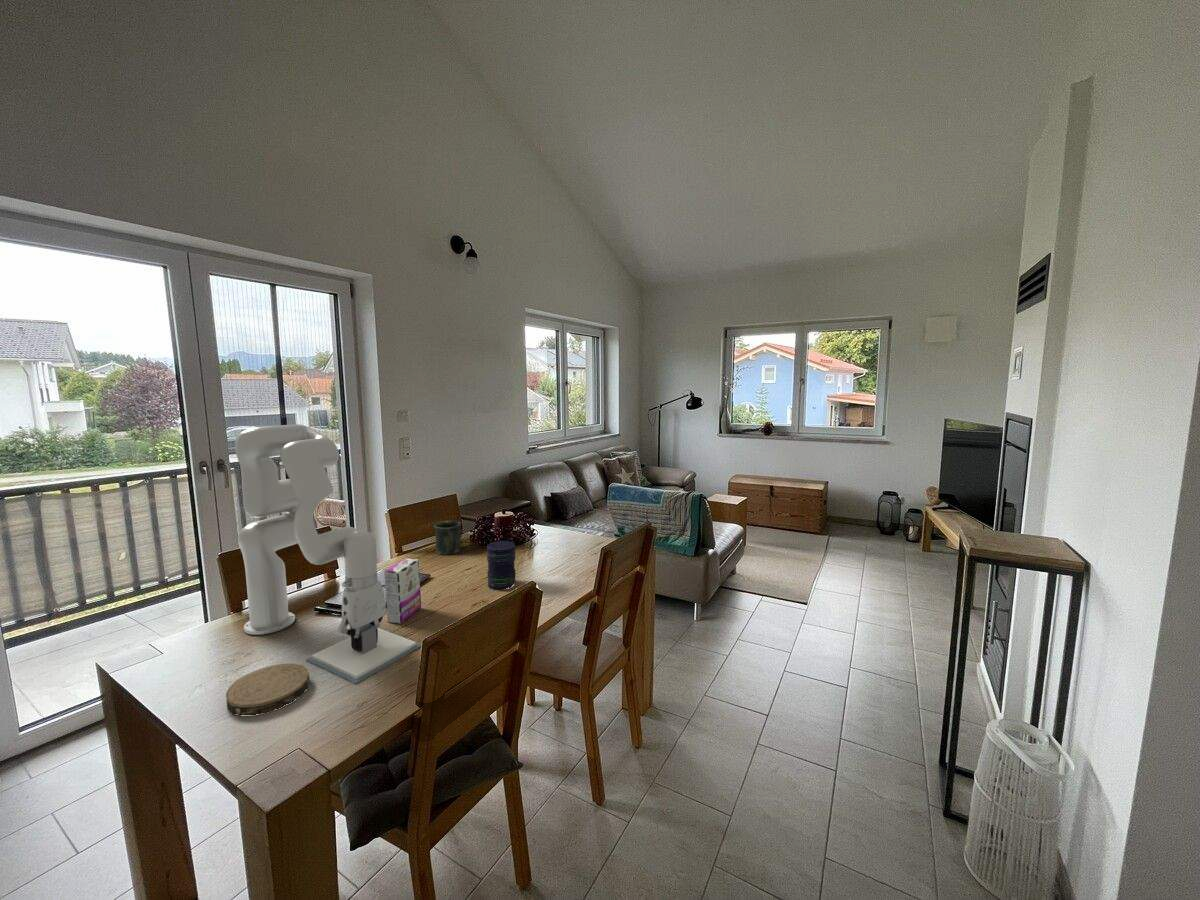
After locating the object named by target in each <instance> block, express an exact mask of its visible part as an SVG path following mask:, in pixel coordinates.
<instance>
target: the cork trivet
mask: <svg viewBox="0 0 1200 900" xmlns="http://www.w3.org/2000/svg"><path fill="white" fill-rule="evenodd" d="M308 685H309V686H310V672H309V670H308V667H305V665H302V664H298V663H279V664H274V665H269V666H265V667H262V668H259V669H256V670H254V671H252V672H249V673H247V674H245V675H244V676H242V677H240V678H238V679H236V681H235V682H233V683H232V684H231V685H230V686H229V687H228V689H227V690H226V692H225V698H226V699H225V700H226V708H227V711H228V710H229V711H230V712H231V713H232V714H231V713H230V712H229V711H228V712H229V713H230V714H231V715H233V714H238V715H256V714H261V713H267V712H270V711H273V710H275V709H279V708H281V707H283V706H284V705H286V704H289V703H291V702H293V701H294V700H295V699H297V698H298V697H300V696H301V695H302V694H303V693H304V691H305V690H306V689H307V688H308V689H309V687H308ZM304 694H305V693H304ZM304 694H303V695H304ZM303 695H302V696H303ZM302 696H301V697H302ZM301 697H300V698H301ZM297 700H298V699H297ZM294 702H295V701H294ZM294 702H293V703H294ZM291 704H292V703H291ZM289 705H290V704H289ZM283 708H284V707H283ZM281 709H282V708H281ZM279 710H280V709H279ZM273 712H274V711H273ZM270 713H271V712H270ZM267 714H268V713H267Z"/></svg>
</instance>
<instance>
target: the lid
mask: <svg viewBox="0 0 1200 900" xmlns="http://www.w3.org/2000/svg"><path fill="white" fill-rule="evenodd" d="M354 631H355V629H354ZM359 636H360V637H361V641H362V651H360V652H359V651H356V650H354V649H353V648H352V646H351V636H349V637H347V638H345V639H343V640H341V641H338V642H337V643H334V644H332V645H331V646H327V648H324V649H322V650H319V651H318V652H316V653H313V654H311V657H312V658H313V659H315V660H317V661H319V662H321V663H323V664H325V665H328V666H330V667H332V668H334V669H336V670H338V671H340V672H343V673H345V674H347V675H349V676H351V677H353V678H355V679H357V678H359V677H361V676H363V675H364V674H366V673H368V672H370V671H371V670H373V669H375V668H377V667H378V666H380V665H382V664H384V663H385V662H387V661H389V660H391V659H392V658H394V657H396V656H398V655H400V654H401V653H403V652H405V651H407V650H408V649H410V648H412V647H414V646H415V645H416V641H415V640H411V639H408V638H406V637H404V636H401V635H398V634H395V633H392V632H390V631H387V630H385V629H382V628H380V627H379V628H378V642H377V639H376V626H374V625H372V624H369V623H368V624H366V625H364V626H362V627H360V634H359Z"/></svg>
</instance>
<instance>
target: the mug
mask: <svg viewBox="0 0 1200 900" xmlns="http://www.w3.org/2000/svg"><path fill="white" fill-rule="evenodd" d="M433 527H434V529H435V551H436V553H437V554H438V555H441V556H442V555H443V556H447V555H453V554H457V553H459V552H461V550H462V546H461V544H462V543H461V539H462V535H463V526H462V523H461V522H460V521H458V520H443V521H439V522H437V523H435V524H434V525H433Z"/></svg>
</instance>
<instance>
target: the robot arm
mask: <svg viewBox="0 0 1200 900" xmlns="http://www.w3.org/2000/svg"><path fill="white" fill-rule="evenodd" d="M234 444H235V445H234V450H235V451H234V452H235V454H236V458H237V461H238V463H239V466H240V470H241V472H240V473H241V489H242V503H243V511H244V512H245V514H246V515H247V516H249V517H250V518H263V517H267V516H272V515H273V517H270V518H266V519H262V520H257V521H254V522H250V523H248V524H247V525H245V526H244V527H242V528H241V529H240V531H239V533H238V536H237V540H238V541H237V542H238V545H239V548H240V553H242V559H243V564H244V570H245V571H244V572H245V580H246V592H247V601H248V602H247V603H248V609H247V613H248V615H249V620H248V621H246V623H245V624H244V625H243V631H244V633H246V634H248V635H253V636H258V635H259V636H260V635H266V634H267V635H268V634H273V633H275V632H279V631H282V630H284V629H286V628H288V627H290V626H291V625H293V623H294V622H295V620H296V615H295V614H294V613H292V611H291V612H290V611H289V601H288V588H287V577H286V573H287V572H286V566H285V565H286V564H285V562H284V561H283V559H282V558H281V557H280V556H278V554H277V553H276V552H277V551H279V550H281V549H282V550H283V549H285V548H288V547H291V546H294V545H297V544H298V547H299V548H300V551H301V553H302V555H303V556H304V558H305V559H306V561H308V562H309V563H310V564H312V565H316V566H319V565H320V566H321V565H324V564H327V563H330V562H333V561H336V560H339V559H341V558H344V559H343V560H344V581H343V582H342V583H341V587H342V588H343V593H342V599H341V622H340V625H339V626H338V629H337V632H338V633H340V634H344V635H348V636H349V637H351V646H352V648H353V649H354V650H356V651H359V652H360V651H362V641H361V637H360V636H359V634H360V627H362V626H364V625H366V624H368V623H369V624H372V625H374V626H376V639H377V642H378V628H380V626H381V625H380V624H381V622H382V620H383V618H384V616H386V614H387V612H388V609H387V606H386V599H385V598H386V597H385V592H384V589H383V585H382V581H381V580H380V579H378V559H377V540H376V539H377V538H376V536H375V534H374V533H372V532H371V531H370V532H369V531H361V530H359V529H357V528H355V527H353V526H344V527H339V528H337V529H332V530H329V531H326V532H323V533H318V531H317V528H316V526H315V523H314V514H315V511H316V509H317V507H318V506H319V505H320V504H321V503H322V502H324V501H325V500H327V499H328V498H329V497H331V496H332V494H333V493H334V486H333V484H332V482H331V479H330V478H329V476H328V473H327V471H326V469H325V468H330V467H333V466H335V465H336V464H337V463H338V462H339V458H340V453H339V452H340V451H339V449H338V446H337V445H336V444H335V442H334V441H333V440H331V439H330V438H329V437H328V436H326V435H324V434H323V433H321V432H319V431H317V430H315V429H313V428H311V427H310V426H307V425H303V424H298V423H297V424H284V425H283V424H281V425H267V426H266V425H264V426H258V427H257V426H256V427H251V428H248V429H245V430H243V431H241V432H240V433H239V434H238V435H237V437H236V440H235V442H234ZM278 456H279V457H280V458H279V459H280V461H281V464H282V465H283V467H284V470H285V472H286V475H287V476H288V478H285V479H279V468H278V466H277V464H276V462H274V460H273V459H272V458H273V457H278ZM278 514H281V515H278ZM274 515H278V516H274ZM348 626H349V627H348ZM354 629H355V631H354Z"/></svg>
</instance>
